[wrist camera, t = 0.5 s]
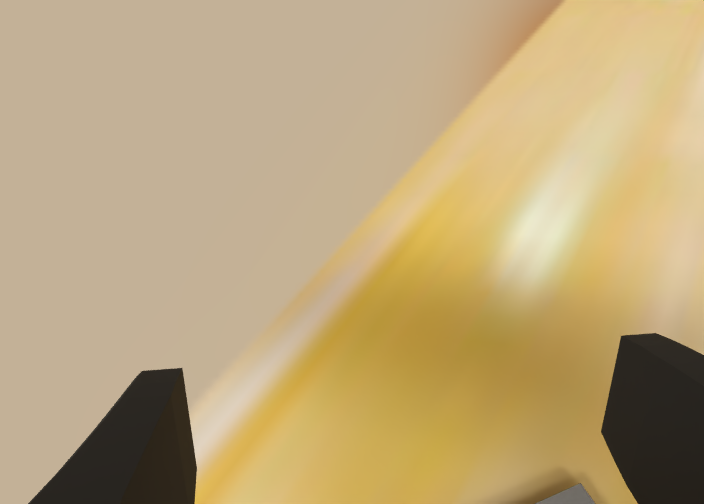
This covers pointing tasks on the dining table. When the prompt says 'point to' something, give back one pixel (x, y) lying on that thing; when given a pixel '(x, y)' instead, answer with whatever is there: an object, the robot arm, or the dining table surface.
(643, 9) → the dining table surface
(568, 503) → the board
